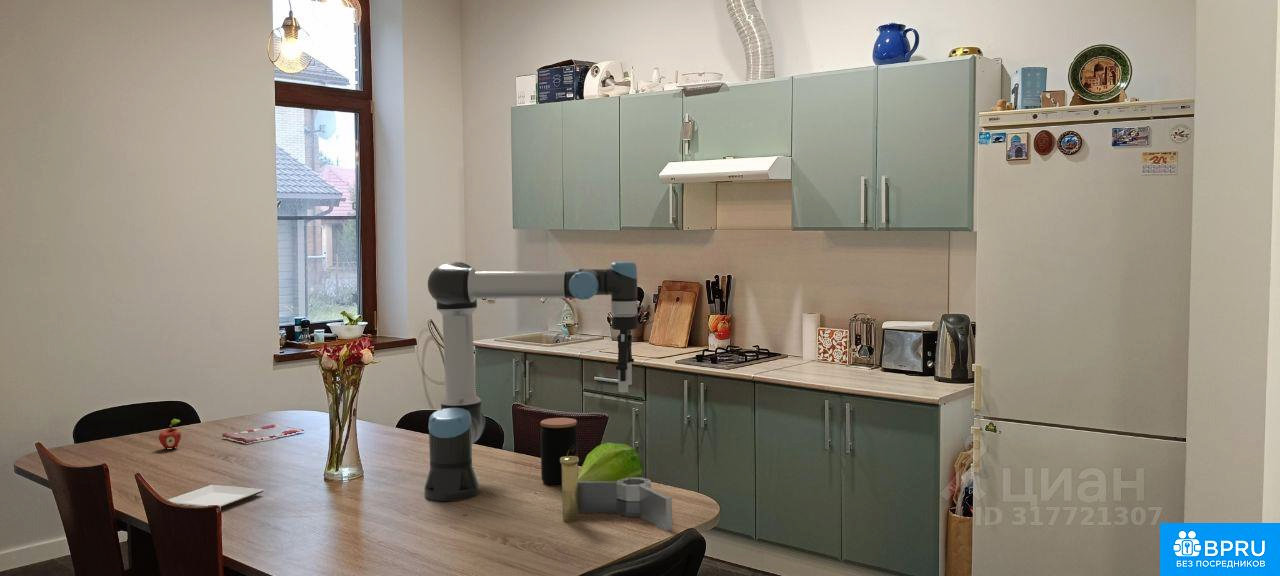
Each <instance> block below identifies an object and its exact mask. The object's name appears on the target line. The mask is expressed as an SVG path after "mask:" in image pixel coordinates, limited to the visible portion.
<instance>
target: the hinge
mask: <svg viewBox="0 0 1280 576" xmlns="http://www.w3.org/2000/svg"><path fill="white" fill-rule="evenodd" d="M578 514H616V515H618V516H619V515H620V516H623V517H626V518H641V519H643V520H644V521H647V522H649V523H651V524H653V525H654V526H657V527H658V528H660V529H662V530H664V531H665V532H670V531H673V499H672V497H671V496H669V495H667V494H664V493H662V492H660V491H658V490H655V489H653V488H652V480H651V479H649V478H645V477H641V478H624V479H620V480H617V481H578Z"/></svg>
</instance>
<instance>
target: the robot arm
mask: <svg viewBox="0 0 1280 576" xmlns="http://www.w3.org/2000/svg"><path fill="white" fill-rule="evenodd" d="M637 270H638V269H637V265H636V263H635V262H633V261H615V262H614V261H613V262H612V263H610V267H609V268H607V269H599V268H597V269H595V268H593V269H590V268H589V269H588V268H585V269H584V268H578V269H572V270H571V271H564V270H563V271H561V270H560V271H556V270H554V271H553V270H552V271H551V270H549V271H548V270H547V271H544V270H543V271H536V270H535V271H532V270H531V271H523V270H521V271H518V270H517V271H513V270H512V271H506V270H505V271H504V270H503V271H497V270H496V271H494V270H493V271H489V270H488V271H477V270H476V269H475V268H474V267H472V266H471V265H470V264H467V263H465V262H462V261H454V262H453V261H452V262H449V263H442V264H440V265H438V266H437V267H435V268H433V270H432V271H431V272H430V274H429V276H428V279H427V290H428V292H429V294H430V296H431V298H432V299H434V300H435V301H436V310H437V312H439V313H440V314H441V316H442V336H443V337H442V339H443V340H442V341H443V357H444V359H443V360H444V361H443V362H444V379H445V380H444V382H445V387H444V388H445V397H444V398H443V399H442V400H441V401H440V409H439V410H436V411H433V412H432V414H430V416H429V418H428V424H427V425H428V428H427V429H428V438H429V439H428V440H429V441H428V442H429V444H428V445H429V470H428V471H429V472H428V473H427V474H428V475H427V477H426V482H425V484H424V489H423V490H424V491H423V492H424V498H426V499H427V500H430V501H437V502H454V501H462V500H463V501H464V500H468V499H471V498H475V497H476V496H478V495H479V494H480V484H479V482H478V479H477V475H476V473H475V469H474V466H473V448H472V447H473V446H472V445H473V444H475V443H476V442H477V441H478V440H479V439H480V438H481V436H483V435H482V434H483V433H484V430H485V427H486V426H485V425H486V417H485V414H484V413H483V411H482V399H481V398H480V397H479V396H478V395H477V394H476V378H475V377H476V376H475V354H474V351H475V350H474V331H473V330H474V329H473V313H474V312H475V311H476V309H478V300H477V299H480V300H481V299H484V300H486V299H487V300H488V299H490V300H491V299H494V300H495V299H578V300H583V301H584V300H589V299H591V298H593V297H594V296H611V299H610V300H611V301H610V309H611V310H610V311H611V315H612V316H611V329H612V330H615V331H616V330H617V331H619V334H618V336H617V338H616V339H617V348H618V349H617V354H618V355H617V365H616V366H615V370H616V371H617V372H618V373H617V374H618V376H617V381H618V382H617V385H618V386H617V387H618V389H617V391H618V393H629V386H630V385H633V384H632V383H633V376H632V375H633V372H632V371H633V370H632V368H633V367H632V366H633V365H632V363H634V361H635V358H633V355H632V354H633V353H632V341H633V335H632V334H631V333H632V330H636V329H638V321H639V320H638V316H637V314H638V308H639V307H640V304H639V303H638V273H637V272H638V271H637Z"/></svg>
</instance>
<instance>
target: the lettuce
mask: <svg viewBox="0 0 1280 576" xmlns="http://www.w3.org/2000/svg"><path fill="white" fill-rule="evenodd" d="M637 452H638V451H636V450H635V449H634V448H633V447H631V446H630V445H628V444H626V443H614V442H604V443H602V444H601V443H600V444H599V445H597V446H596V447H595V448H593V449H592V450H591V451H590V452H589V453H588V454H587V455H586V457H585V460H584V462H583V464H582V465H581V467H580V470H579V472H578V481H617V480H620V479H624V478H642V476H643V472H644V471H643V461H642V458H641V456H640V455H639V454H638V453H637Z"/></svg>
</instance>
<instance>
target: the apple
mask: <svg viewBox="0 0 1280 576" xmlns="http://www.w3.org/2000/svg"><path fill="white" fill-rule="evenodd" d="M180 422H181V420H180V419H176V418H173V419H172V420H171V421H170V425H169V428H166V429H164V430H162V431H161V432H160V433H159V435H158V441H159V442H160V444H161V446H162V447H163V448H164V449H165V448H175V447H176V448H178V447H179V446H178V445H179V443H180V441H181V439H182V434H181V430H180V429H177V428H173V427H172V426H174V425H177V424H179V423H180ZM176 448H175V449H176Z"/></svg>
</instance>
